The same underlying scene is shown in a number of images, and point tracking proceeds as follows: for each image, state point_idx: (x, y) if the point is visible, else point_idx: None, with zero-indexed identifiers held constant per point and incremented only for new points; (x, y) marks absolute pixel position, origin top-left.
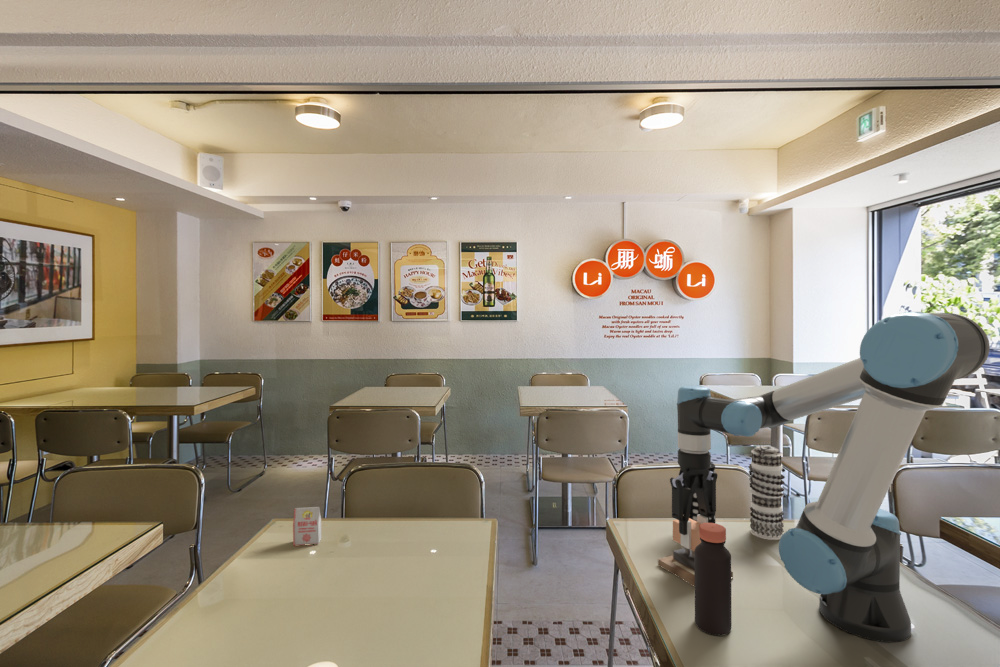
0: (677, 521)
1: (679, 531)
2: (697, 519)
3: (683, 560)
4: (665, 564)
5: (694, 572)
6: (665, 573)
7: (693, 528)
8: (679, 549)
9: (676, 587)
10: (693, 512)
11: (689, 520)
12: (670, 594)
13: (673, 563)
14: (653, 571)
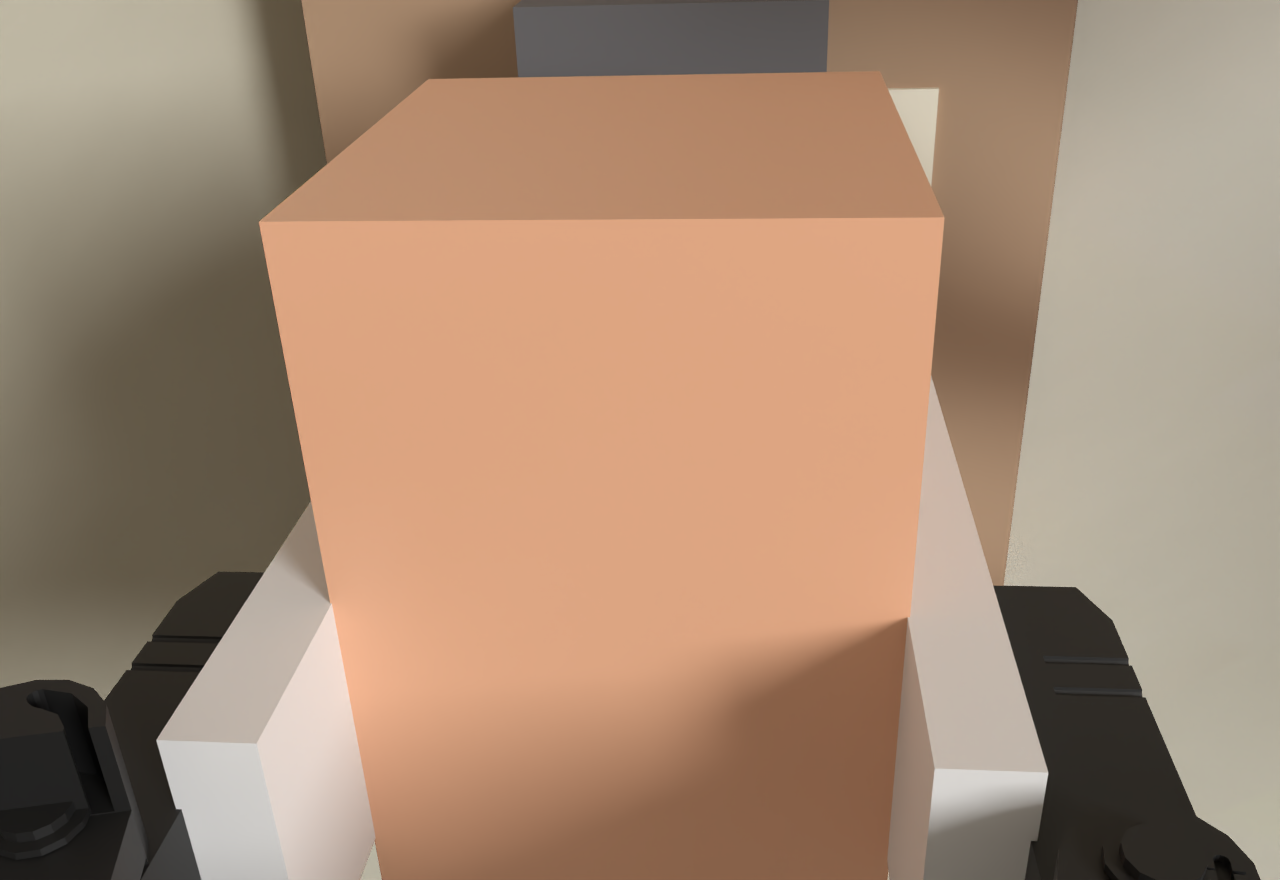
0: (353, 355)
1: (182, 610)
2: (919, 669)
3: None
4: (319, 56)
5: None
6: (272, 139)
7: (449, 840)
8: (665, 18)
9: (203, 457)
10: None
11: (765, 468)
12: (56, 527)
13: None
14: (135, 12)
